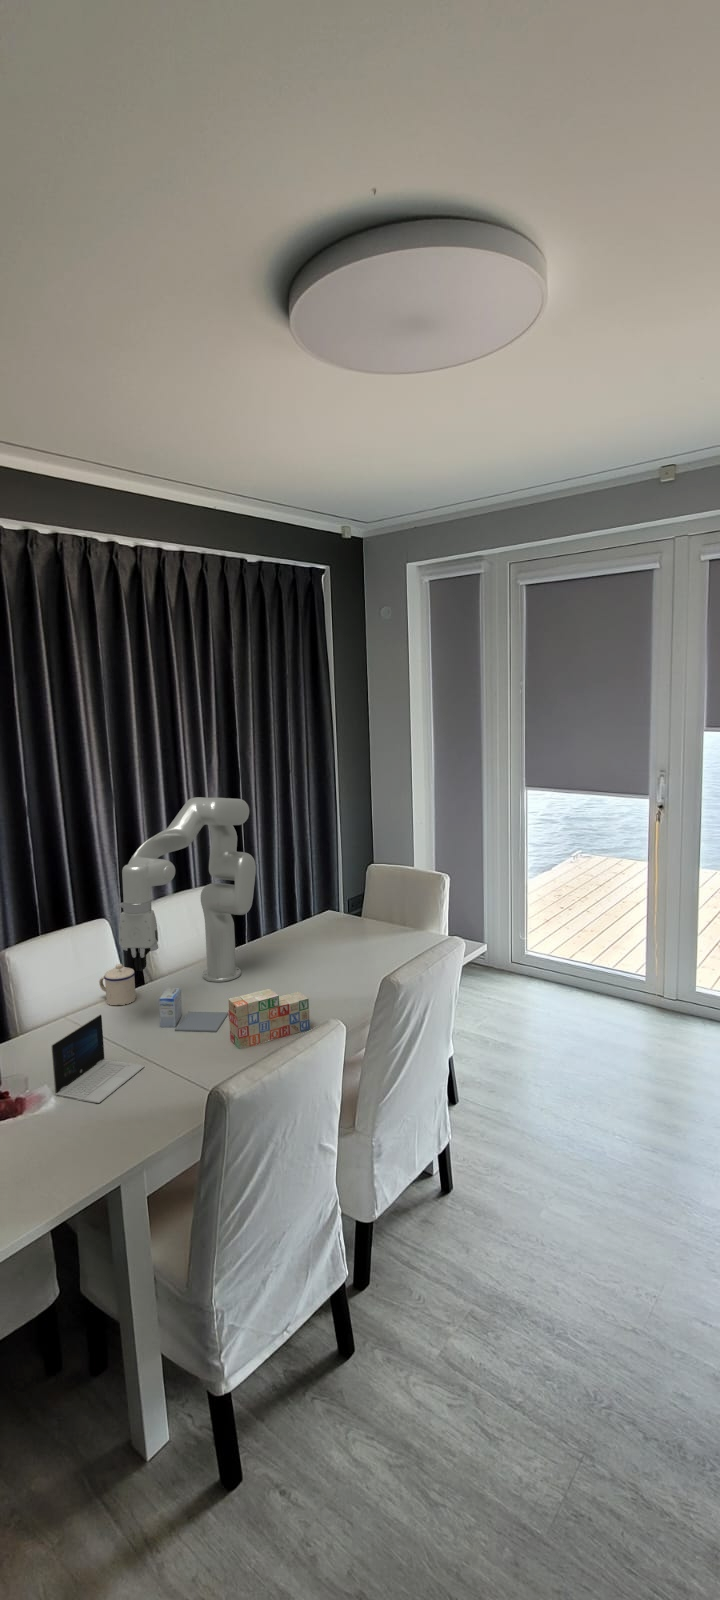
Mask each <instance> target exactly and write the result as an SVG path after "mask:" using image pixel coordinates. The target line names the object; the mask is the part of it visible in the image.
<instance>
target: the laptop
mask: <svg viewBox="0 0 720 1600" xmlns="http://www.w3.org/2000/svg"><path fill="white" fill-rule="evenodd" d="M102 1019H103V1018H102V1014H98V1015H97V1016H96V1017H93V1018H92V1019H91V1020H89V1021H87V1022H85V1024H82V1025H81V1026H80V1027H78V1028H76V1029H74V1030H73V1031H72V1032H70V1033H68V1034H67V1035H65V1036H63V1037H62V1038H60V1039H59V1040H57V1041H56V1042H54V1043H52V1044H51V1055H52V1056H51V1057H52V1068H53V1069H52V1071H53V1081H54V1093H55V1094H56V1095H55V1097H57V1096H58V1098H63V1099H71V1100H77V1101H82V1102H83V1101H84V1102H88V1103H89V1102H90V1103H96V1104H99V1103H101V1102H102V1101H103V1100H105V1099H106V1098H107V1097H108V1096H110V1095H112V1094H113V1093H114V1092H115V1091H116V1090H117V1089H118V1088H120V1087H121V1086H122V1085H123V1084H124V1083H126V1082H127V1081H128V1080H129V1079H131V1078H132V1077H133V1076H135V1075H136V1074H138V1073H139V1072H140V1071H141V1070H142V1069H143V1068H145V1065H143V1064H137V1063H130V1062H127V1061H126V1062H124V1061H117V1060H112V1059H106V1058H105V1049H104V1046H105V1045H104V1034H103V1020H102Z"/></svg>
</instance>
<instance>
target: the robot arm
mask: <svg viewBox="0 0 720 1600" xmlns="http://www.w3.org/2000/svg"><path fill="white" fill-rule="evenodd" d="M249 815H250V806H249V804H248V803H247V802H246V801H245V800H244V799H241V798H231V797H227V798H226V797H201V796H200V797H198V796H197V797H191V798H189V799H188V800H187V801H186V802H185V803H184V805H183V806H182V808H181V809H179V812H178V813H177V814H176V816H175V817H174V819H173V820H172V821H171V823H170V824H169V825H168V826H167V828H165V829H163V830H162V831H160V832H158V833H156V834H155V835H153V836H151V837H150V838H148V839H147V840H145V841H144V842H143V843H142V844H141V845H140V846H139V847H138V848H137V849H136V851H135V852H134V853H133V855H131V858H130V859H129V861H128V863H127V864H125V865H124V866H123V867H122V870H121V874H122V875H121V876H122V878H121V879H122V894H123V895H122V896H123V897H122V898H123V902H120V903H119V904H118V905H119V906H118V907H119V908H121V909H122V910H123V911H122V912H121V913H120V918H119V925H118V943H119V946H120V949H121V950H123V951H125V952H126V951H127V952H129V953H130V955H131V957H132V958H133V964H134V965H133V966H134V968H135V971H136V972H143V970H145V969H146V967H147V955H148V954H149V953H150V952H153V951H157V950H158V949H159V944H158V942H159V931H158V923H157V918H156V915H155V912H154V910H153V909H152V887H156V886H157V887H158V886H164V885H167V884H169V883H170V882H171V881H172V880H173V879H174V877H175V875H176V867H175V865H174V864H173V862H171V861H170V860H168V859H163V858H160V857H162V856H164V855H166V854H170V853H172V852H176V851H179V850H182V849H185V848H187V847H189V846H190V845H191V844H192V843H193V841H194V840H195V838H196V837H197V835H198V834H199V832H200V831H201V829H202V828H203V827H204V826H205V825H207V826H208V829H209V831H210V835H211V838H210V839H211V841H210V842H211V843H210V851H209V859H208V860H209V861H208V872H209V875H210V876H211V877H212V878H215V879H219V880H226V881H234V884H230V883H223V882H222V883H221V882H220V883H219V882H213V883H208V884H206V885H205V886H204V887H203V888H202V890H201V892H200V897H199V898H200V905H201V909H202V912H203V916H204V917H203V918H204V928H205V929H204V930H205V945H206V946H205V949H206V968H207V969H205V970H204V971H203V973H202V978H203V979H204V980H206V981H208V982H213V983H219V982H220V983H223V982H229V981H233V980H236V979H237V978H239V977H240V976H241V974H242V971H241V968H239V967H238V966H237V963H236V962H237V961H236V960H237V959H236V938H235V937H236V936H235V922H234V919H233V916H232V915H235V916H236V915H237V916H244V915H246V914H247V913H249V911H250V910H251V908H252V905H253V901H254V900H253V899H254V892H255V891H254V890H255V882H256V874H257V873H256V871H257V867H256V860H255V859H254V857H253V856H252V855H251V854H250V853H248V852H245V851H244V852H243V851H237V847H238V835H237V831H236V829H235V827H234V826H241V825H243V824H245V822H247V820H248V819H249Z"/></svg>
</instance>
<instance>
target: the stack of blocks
mask: <svg viewBox="0 0 720 1600" xmlns="http://www.w3.org/2000/svg"><path fill="white" fill-rule="evenodd" d="M227 1001H228V1021H229V1037H230V1038H229V1039H230V1042H231V1043H232V1044H233V1045H234V1046H235V1047H236V1048H237V1049H238V1050H242V1049H244V1048H249V1047H253V1046H256V1044H257V1045H259V1043H260V1044H263V1042H264V1043H266V1042H265V1041H268V1040H270V1041H272V1040H271V1039H274V1040H276V1039H275V1038H277V1039H281V1038H283V1037H287V1036H290V1035H291V1034H292V1035H294V1034H298V1032H299V1033H302V1032H306V1031H309V1030H310V1028H311V1027H310V1003H309V1002H310V1001H309V998H308V996H306V995H304V994H303V993H301V991H296V992H291V993H288V994H283V995H279V994H277V993H276V992H275V991H274V990H272V989H271V988H267V989H262V990H259V991H254V992H250V993H247V994H242V995H239V996H234V997H231V998H227ZM300 1031H301V1032H300ZM280 1037H281V1038H280ZM268 1042H269V1041H268Z"/></svg>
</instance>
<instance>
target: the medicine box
mask: <svg viewBox="0 0 720 1600" xmlns="http://www.w3.org/2000/svg"><path fill="white" fill-rule="evenodd" d="M161 994H162V995H161V996H160V997H159V1001H158V1003H159V1005H158V1006H159V1021H160V1023H159V1024H160V1027H161V1028H176V1027H177V1026H178V1025H177V1024H179V1023H178V1022H179V1021H180V1019H181V1018H182V1015H183V1011H182V1010H183V1009H182V989H181V988H179V987H166V988H165V989H164V991H163V993H161Z"/></svg>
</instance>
